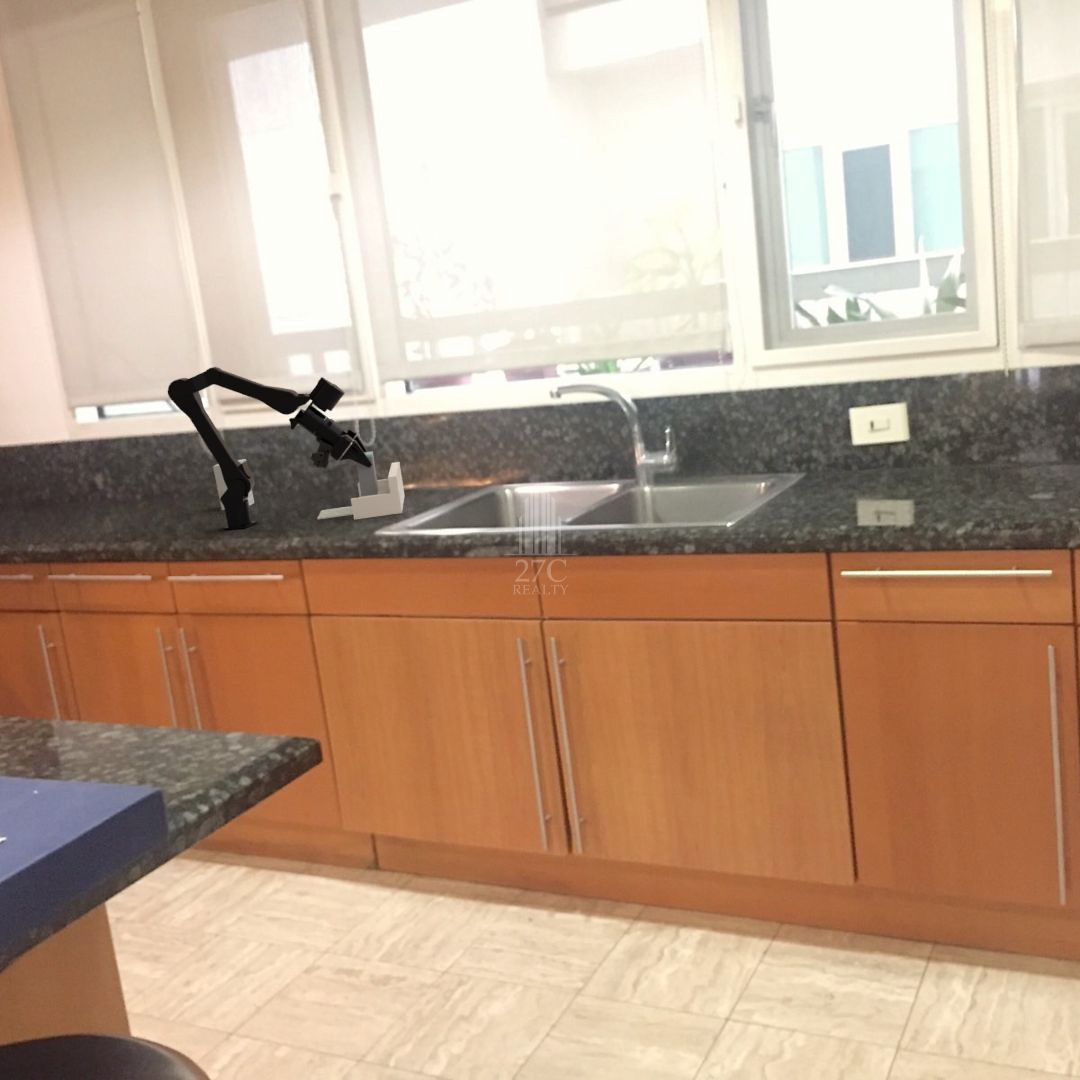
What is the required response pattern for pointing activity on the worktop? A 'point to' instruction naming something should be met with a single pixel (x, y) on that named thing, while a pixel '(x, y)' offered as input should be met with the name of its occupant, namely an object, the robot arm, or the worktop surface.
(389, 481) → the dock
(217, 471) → the supplement box
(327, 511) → the mat
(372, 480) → the grey teal block
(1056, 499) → the worktop surface
